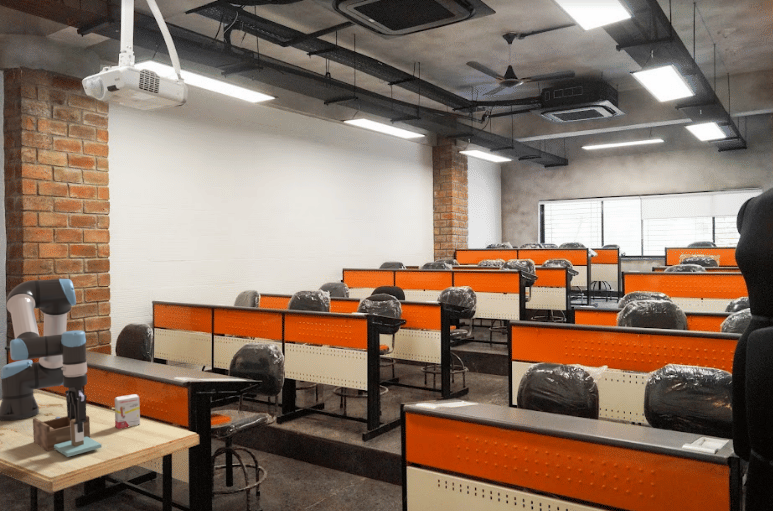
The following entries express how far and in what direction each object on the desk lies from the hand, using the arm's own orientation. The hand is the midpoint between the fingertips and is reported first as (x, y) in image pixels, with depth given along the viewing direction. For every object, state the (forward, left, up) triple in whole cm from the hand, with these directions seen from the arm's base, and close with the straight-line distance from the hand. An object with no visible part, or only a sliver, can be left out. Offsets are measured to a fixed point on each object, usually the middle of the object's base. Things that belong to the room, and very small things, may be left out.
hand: (77, 439), depth 204 cm
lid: (0, 0, -3) cm, 3 cm away
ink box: (-14, +24, -4) cm, 28 cm away
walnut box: (-15, 0, -4) cm, 16 cm away
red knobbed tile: (-28, +3, -5) cm, 29 cm away
